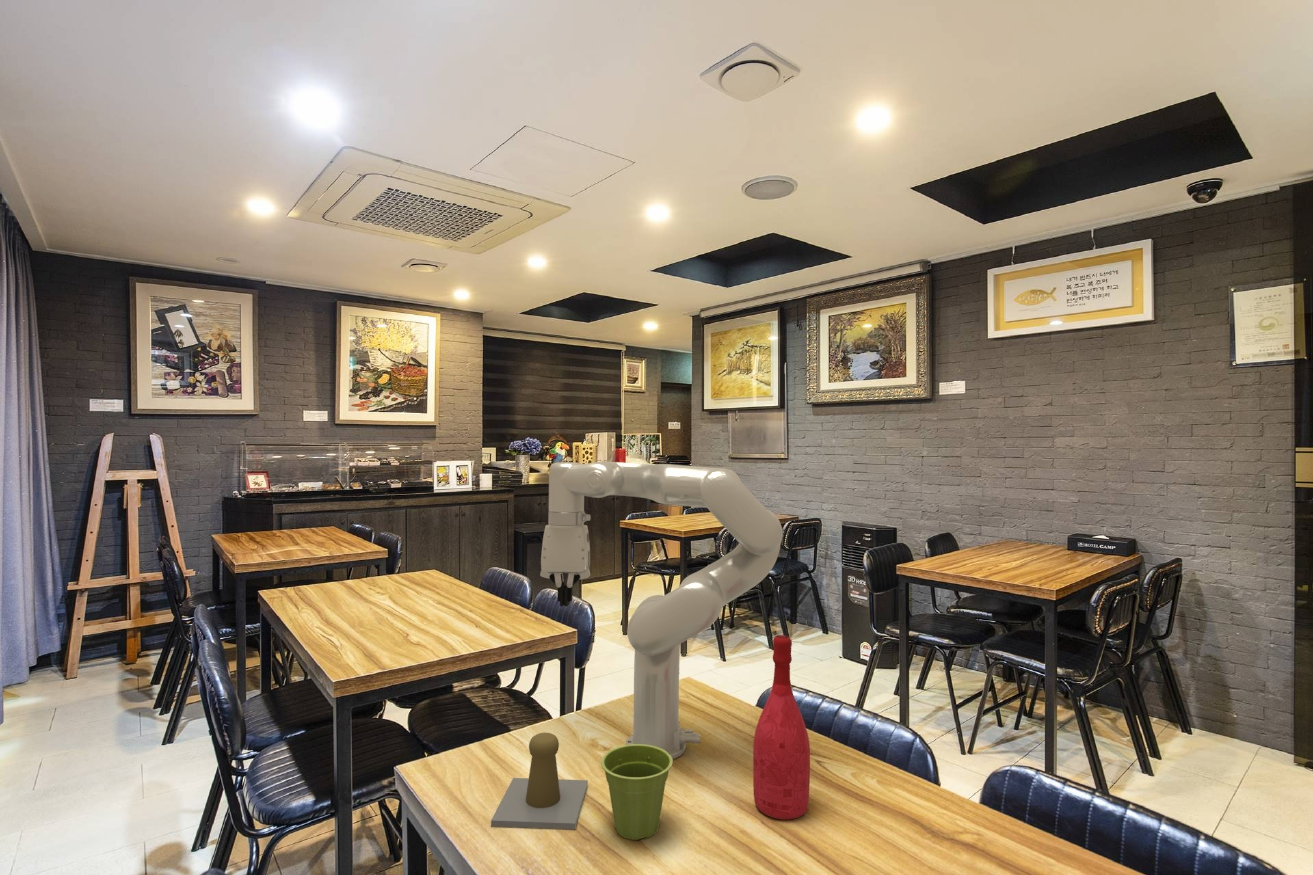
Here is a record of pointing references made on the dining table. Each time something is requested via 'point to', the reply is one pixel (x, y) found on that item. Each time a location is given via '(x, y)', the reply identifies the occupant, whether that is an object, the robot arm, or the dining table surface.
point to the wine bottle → (781, 746)
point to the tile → (555, 817)
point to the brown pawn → (543, 772)
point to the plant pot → (636, 787)
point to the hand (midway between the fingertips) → (564, 604)
